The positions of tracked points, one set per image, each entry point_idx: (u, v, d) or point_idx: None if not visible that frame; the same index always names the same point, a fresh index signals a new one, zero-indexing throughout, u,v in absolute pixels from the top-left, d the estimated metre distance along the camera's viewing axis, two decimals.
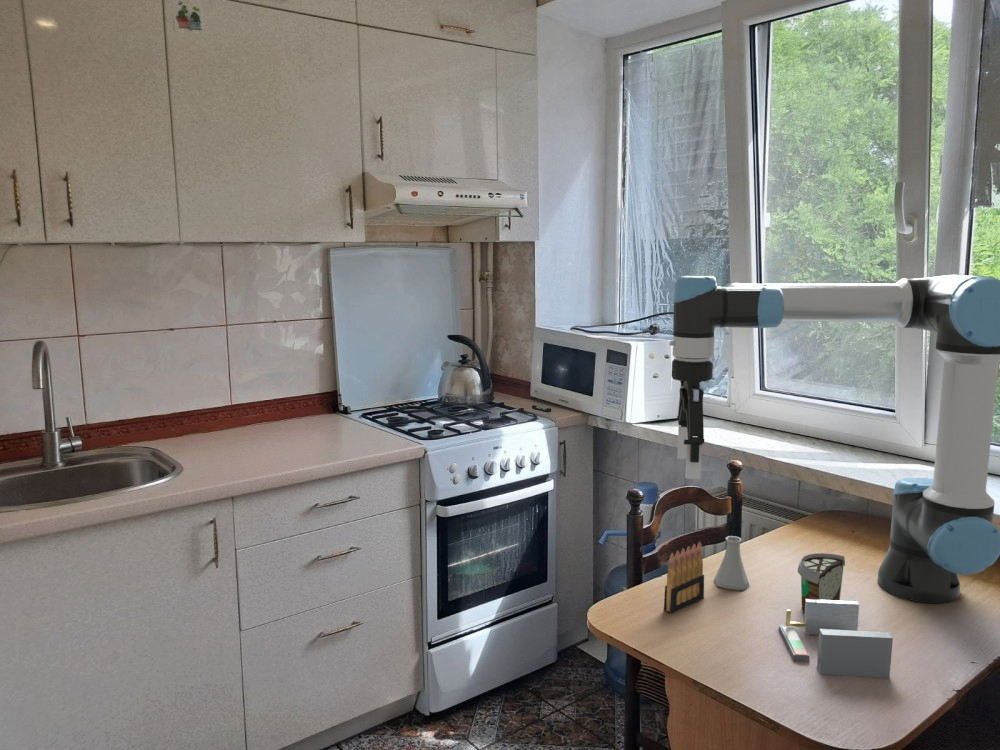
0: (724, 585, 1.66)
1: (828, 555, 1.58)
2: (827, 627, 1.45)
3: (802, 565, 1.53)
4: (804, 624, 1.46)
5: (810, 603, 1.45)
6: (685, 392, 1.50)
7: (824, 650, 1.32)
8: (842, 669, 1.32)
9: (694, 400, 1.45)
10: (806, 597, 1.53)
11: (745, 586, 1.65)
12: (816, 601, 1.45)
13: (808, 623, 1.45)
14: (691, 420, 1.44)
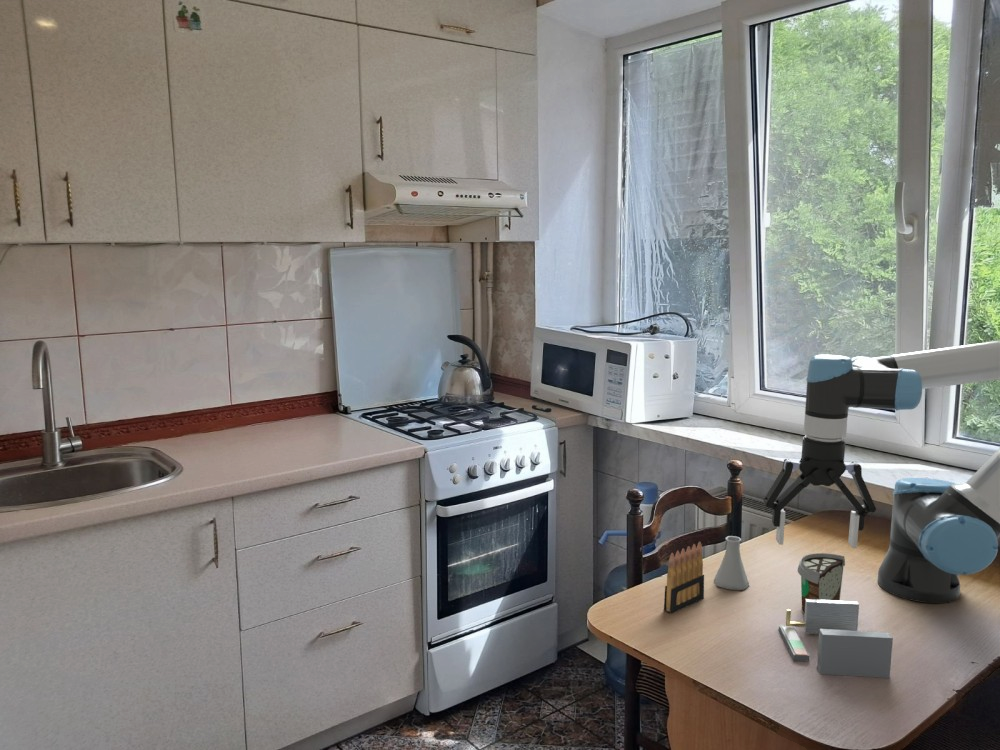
0: (724, 585, 1.66)
1: (828, 555, 1.58)
2: (827, 627, 1.45)
3: (802, 565, 1.53)
4: (804, 624, 1.46)
5: (810, 603, 1.45)
6: None
7: (824, 650, 1.32)
8: (842, 669, 1.32)
9: (784, 469, 1.53)
10: (806, 597, 1.53)
11: (745, 586, 1.65)
12: (816, 601, 1.45)
13: (808, 623, 1.45)
14: (773, 484, 1.54)
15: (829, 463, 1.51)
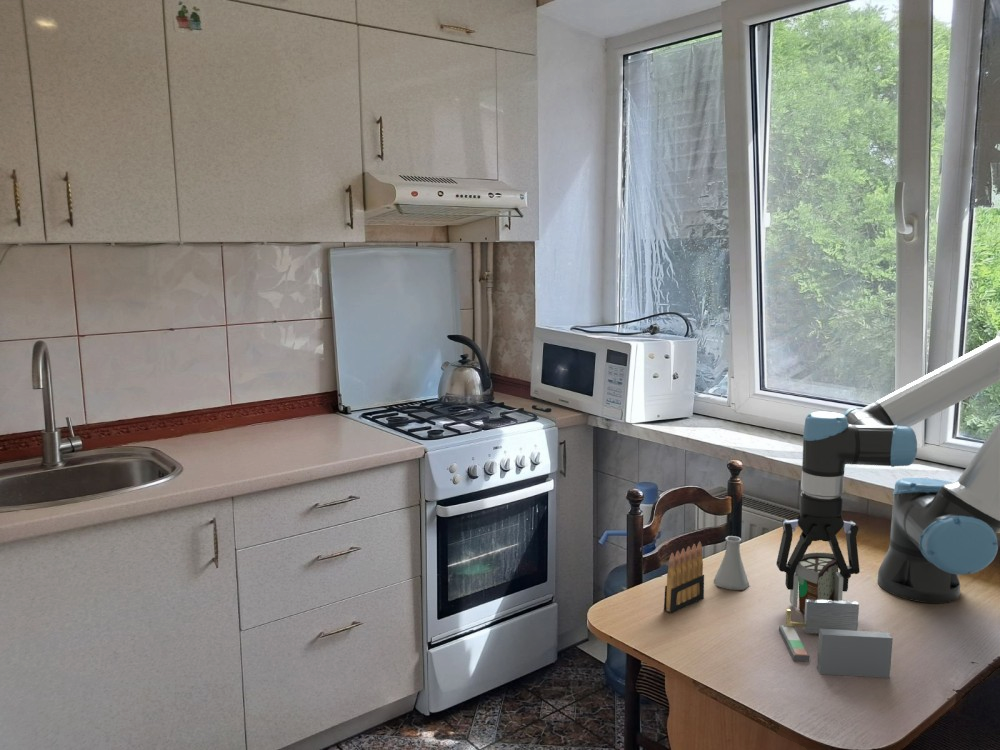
0: (724, 585, 1.66)
1: (823, 554, 1.59)
2: (827, 627, 1.45)
3: (800, 565, 1.53)
4: (804, 624, 1.46)
5: (810, 603, 1.45)
6: None
7: (824, 650, 1.32)
8: (842, 669, 1.32)
9: (785, 530, 1.55)
10: (804, 597, 1.53)
11: (745, 586, 1.65)
12: (816, 601, 1.45)
13: (808, 623, 1.45)
14: (780, 547, 1.56)
15: None
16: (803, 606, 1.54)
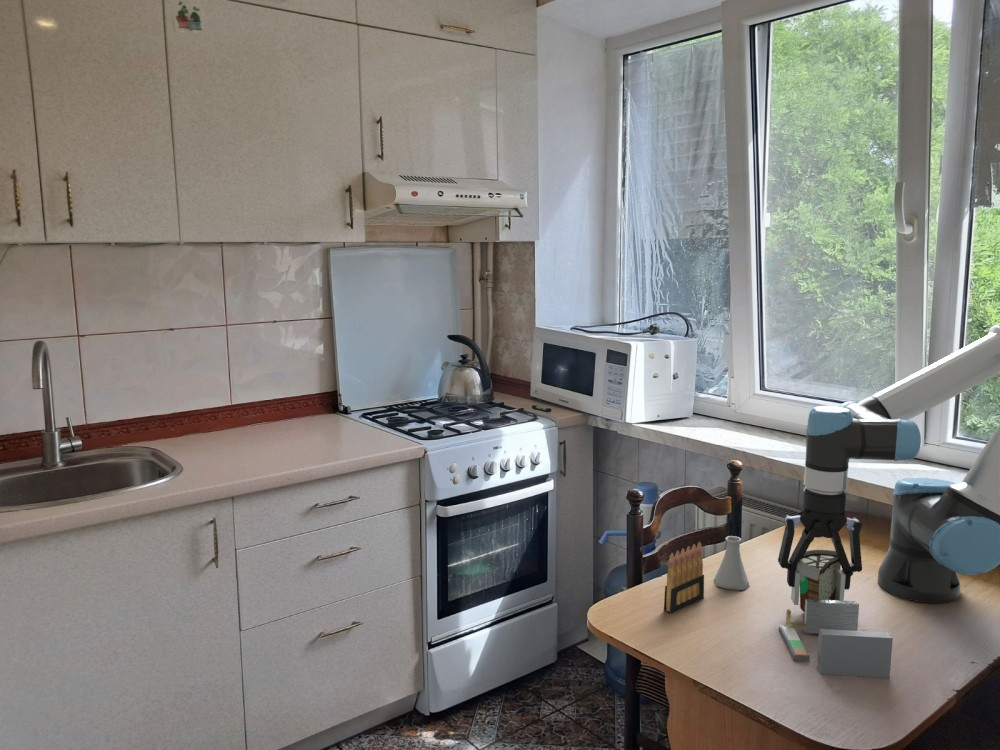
0: (724, 585, 1.66)
1: (825, 552, 1.56)
2: (827, 627, 1.45)
3: (801, 562, 1.51)
4: (804, 624, 1.46)
5: (810, 603, 1.45)
6: None
7: (824, 650, 1.32)
8: (842, 669, 1.32)
9: (787, 526, 1.53)
10: (805, 594, 1.50)
11: (745, 586, 1.65)
12: (816, 601, 1.45)
13: (808, 623, 1.45)
14: (782, 543, 1.54)
15: None
16: (804, 603, 1.51)
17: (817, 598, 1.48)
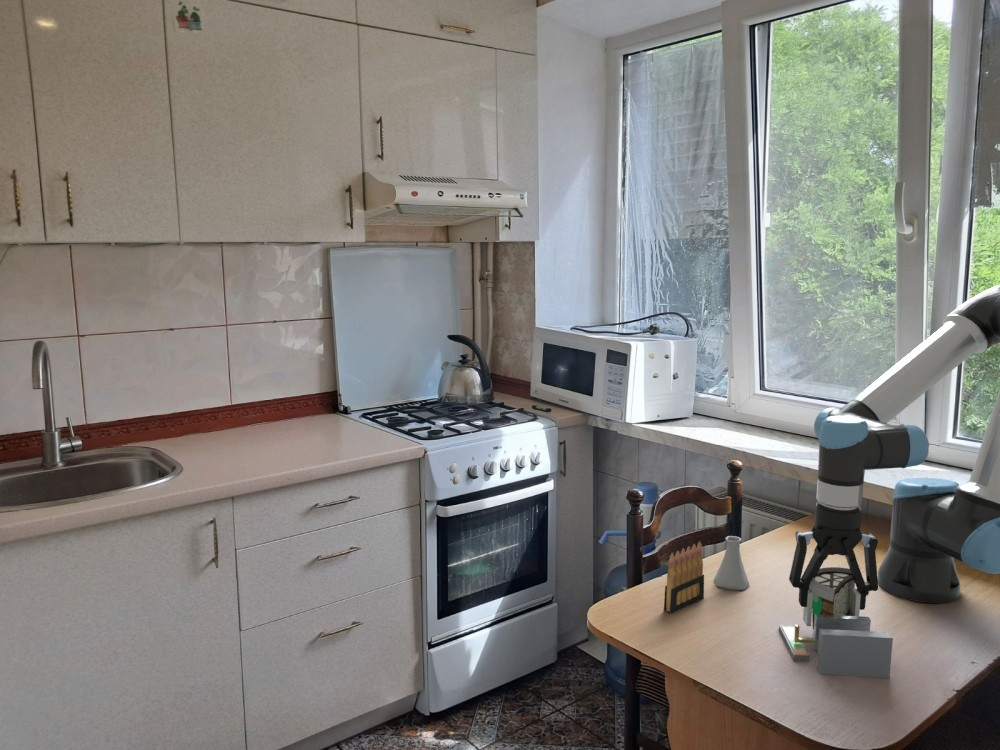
0: (724, 585, 1.66)
1: (838, 569, 1.48)
2: None
3: (814, 581, 1.42)
4: (813, 640, 1.40)
5: (819, 619, 1.39)
6: None
7: (824, 650, 1.32)
8: (842, 669, 1.32)
9: (798, 543, 1.44)
10: None
11: (745, 586, 1.65)
12: (826, 616, 1.39)
13: (817, 639, 1.39)
14: (793, 561, 1.45)
15: None
16: None
17: None
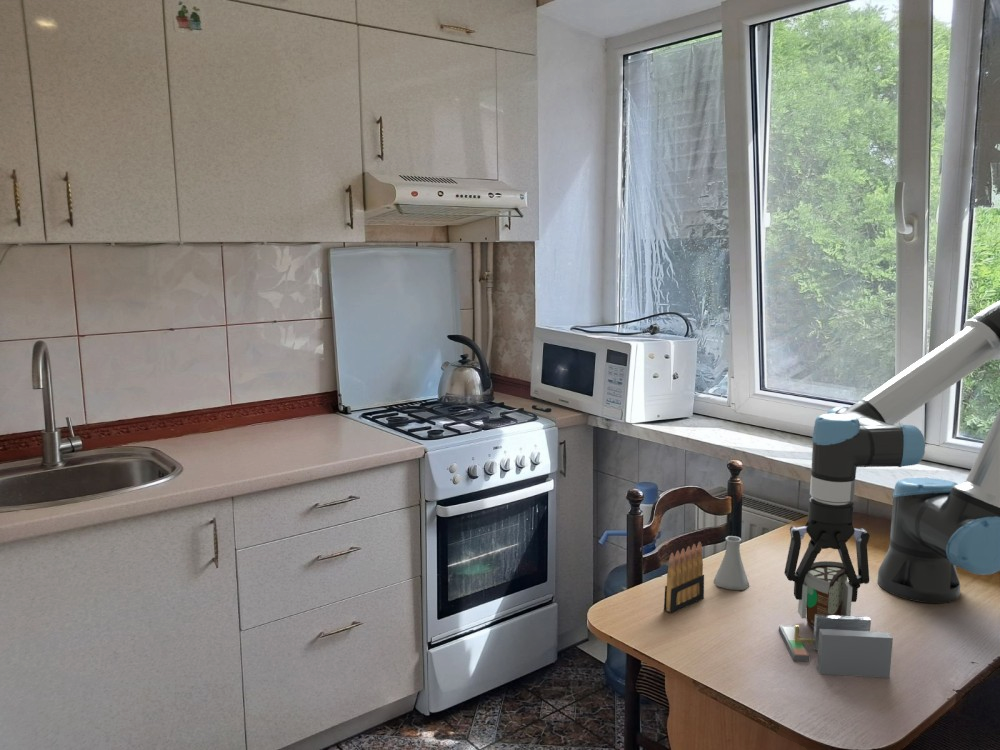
0: (724, 585, 1.66)
1: (831, 563, 1.53)
2: None
3: (809, 574, 1.47)
4: (813, 641, 1.40)
5: (819, 619, 1.39)
6: None
7: (824, 650, 1.32)
8: (842, 669, 1.32)
9: (793, 537, 1.49)
10: (813, 608, 1.46)
11: (745, 586, 1.65)
12: (826, 617, 1.39)
13: (817, 640, 1.39)
14: (788, 555, 1.50)
15: None
16: (812, 617, 1.47)
17: (826, 612, 1.44)
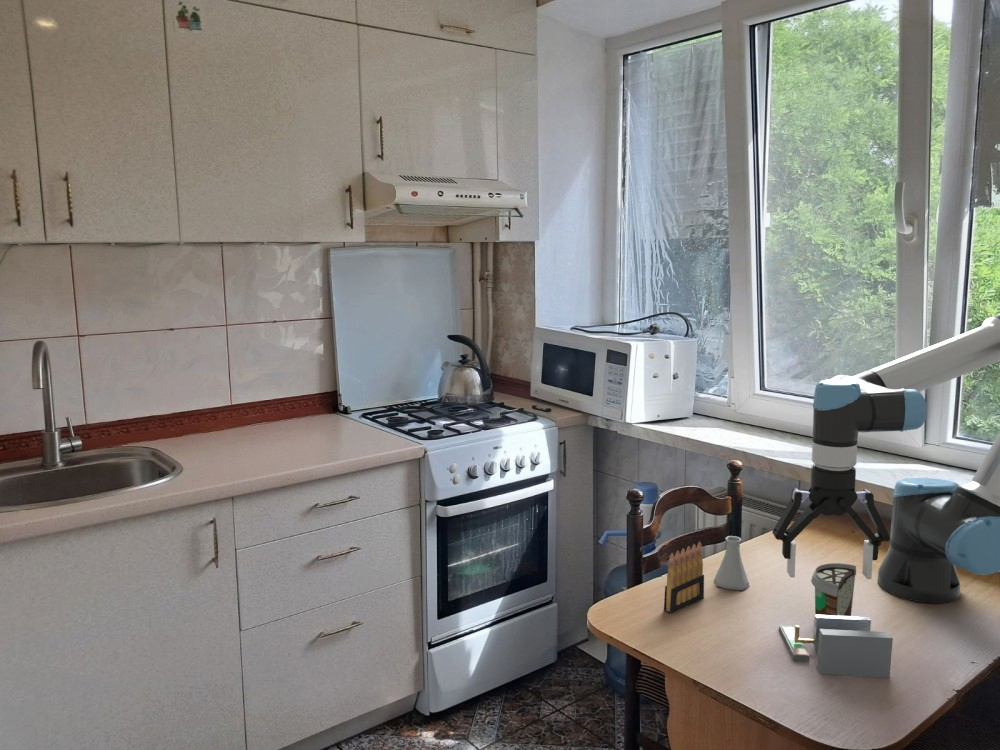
0: (724, 585, 1.66)
1: (839, 565, 1.53)
2: None
3: (817, 577, 1.48)
4: (813, 641, 1.40)
5: (819, 619, 1.39)
6: None
7: (824, 650, 1.32)
8: (842, 669, 1.32)
9: (793, 499, 1.47)
10: (822, 610, 1.47)
11: (745, 586, 1.65)
12: (826, 617, 1.39)
13: (817, 640, 1.39)
14: (782, 515, 1.49)
15: (840, 492, 1.45)
16: None
17: (835, 614, 1.45)
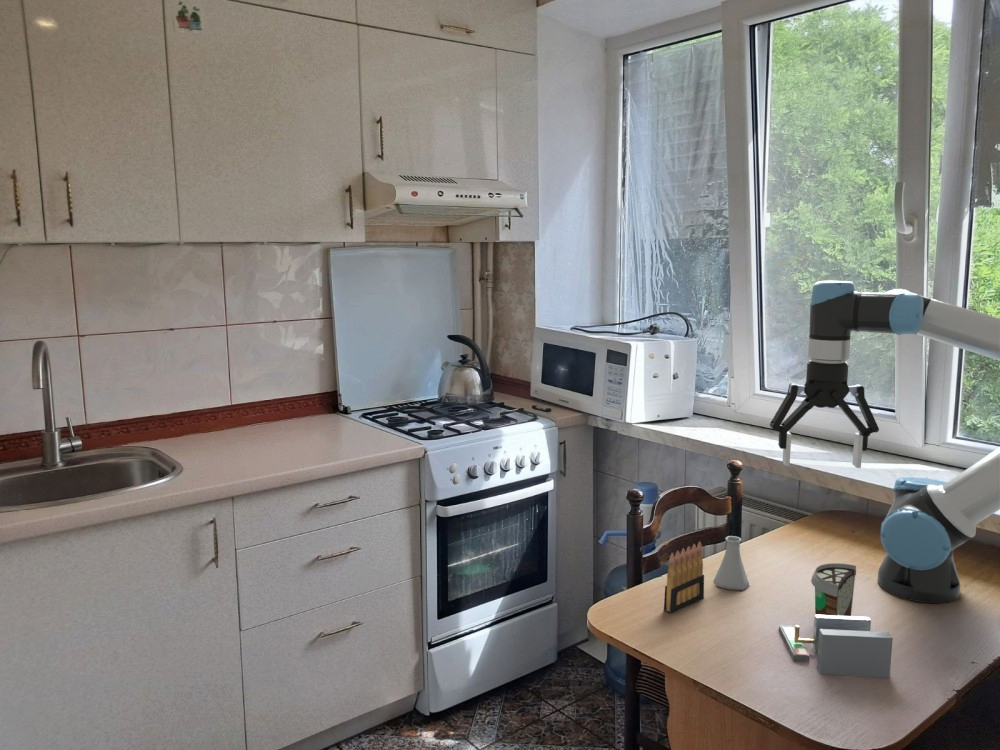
0: (724, 585, 1.66)
1: (839, 565, 1.53)
2: None
3: (817, 577, 1.48)
4: (813, 641, 1.40)
5: (819, 619, 1.39)
6: None
7: (824, 650, 1.32)
8: (842, 669, 1.32)
9: (789, 392, 1.59)
10: (822, 610, 1.47)
11: (745, 586, 1.65)
12: (826, 617, 1.39)
13: (817, 640, 1.39)
14: (779, 408, 1.60)
15: (833, 385, 1.56)
16: None
17: (835, 614, 1.45)
